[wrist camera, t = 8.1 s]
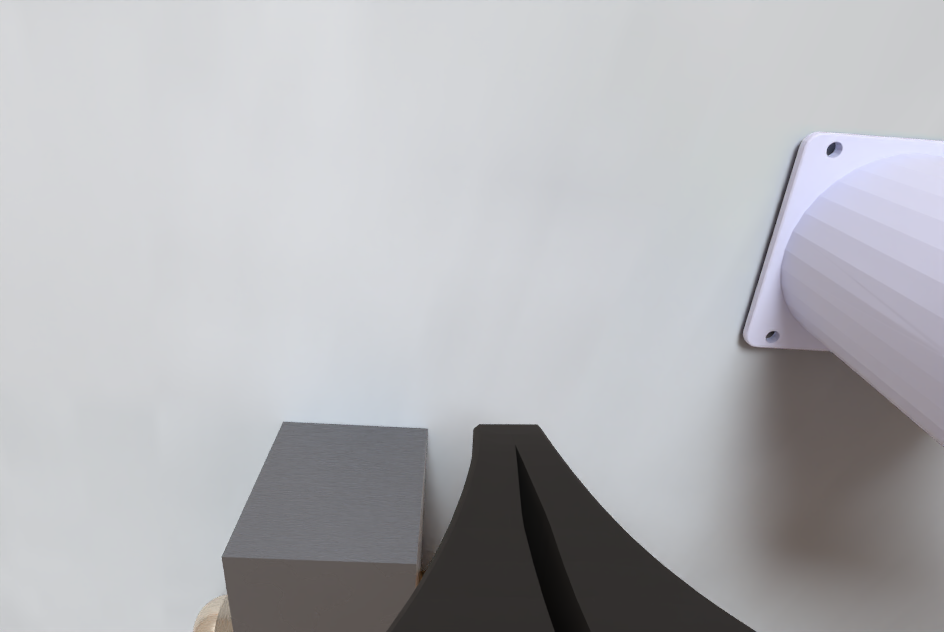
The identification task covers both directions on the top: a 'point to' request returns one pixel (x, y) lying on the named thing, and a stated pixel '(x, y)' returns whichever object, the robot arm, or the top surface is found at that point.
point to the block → (329, 531)
